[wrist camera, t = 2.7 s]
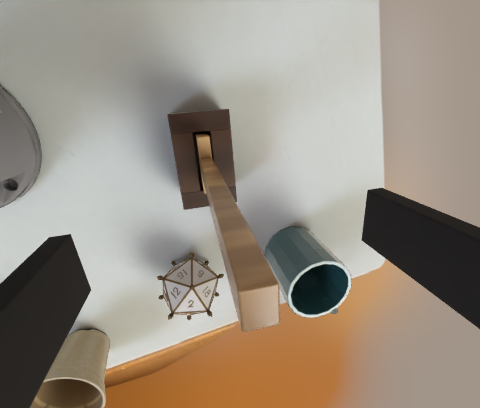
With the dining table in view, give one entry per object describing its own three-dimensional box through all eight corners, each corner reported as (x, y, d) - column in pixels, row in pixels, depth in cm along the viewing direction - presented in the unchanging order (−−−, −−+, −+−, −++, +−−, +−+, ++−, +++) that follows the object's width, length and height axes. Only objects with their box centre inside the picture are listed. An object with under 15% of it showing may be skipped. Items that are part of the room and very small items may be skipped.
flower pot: (107, 371, 41) (88, 433, 33) (43, 358, 38) (6, 425, 30) (131, 329, 39) (117, 385, 31) (66, 312, 36) (32, 370, 28)
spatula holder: (228, 186, 34) (237, 202, 29) (184, 192, 33) (183, 209, 28) (221, 108, 30) (229, 109, 25) (170, 112, 29) (167, 114, 24)
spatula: (209, 175, 32) (281, 370, 8) (200, 176, 32) (246, 379, 8) (204, 130, 30) (278, 216, 6) (194, 130, 30) (230, 224, 6)
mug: (254, 248, 39) (275, 289, 30) (300, 216, 38) (334, 247, 29) (290, 292, 43) (317, 339, 35) (331, 264, 43) (368, 304, 34)
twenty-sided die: (201, 256, 41) (240, 304, 36) (156, 290, 38) (191, 347, 33) (189, 227, 34) (235, 281, 29) (132, 266, 31) (172, 333, 26)
